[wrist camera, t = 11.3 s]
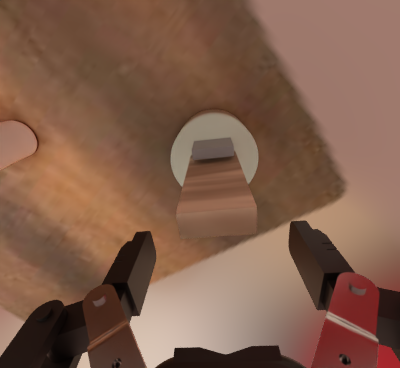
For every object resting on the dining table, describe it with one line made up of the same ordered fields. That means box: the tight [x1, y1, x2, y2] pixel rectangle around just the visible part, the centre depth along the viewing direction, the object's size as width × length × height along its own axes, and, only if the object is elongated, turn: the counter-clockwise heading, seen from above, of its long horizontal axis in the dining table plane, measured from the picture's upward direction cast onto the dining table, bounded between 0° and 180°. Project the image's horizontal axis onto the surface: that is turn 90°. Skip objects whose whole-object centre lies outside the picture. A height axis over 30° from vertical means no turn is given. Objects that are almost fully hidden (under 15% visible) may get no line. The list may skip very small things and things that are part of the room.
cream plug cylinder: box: [171, 109, 258, 187], centre depth 26 cm, size 10×10×10 cm
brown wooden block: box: [176, 151, 257, 239], centre depth 19 cm, size 2×5×12 cm, turn 97°
